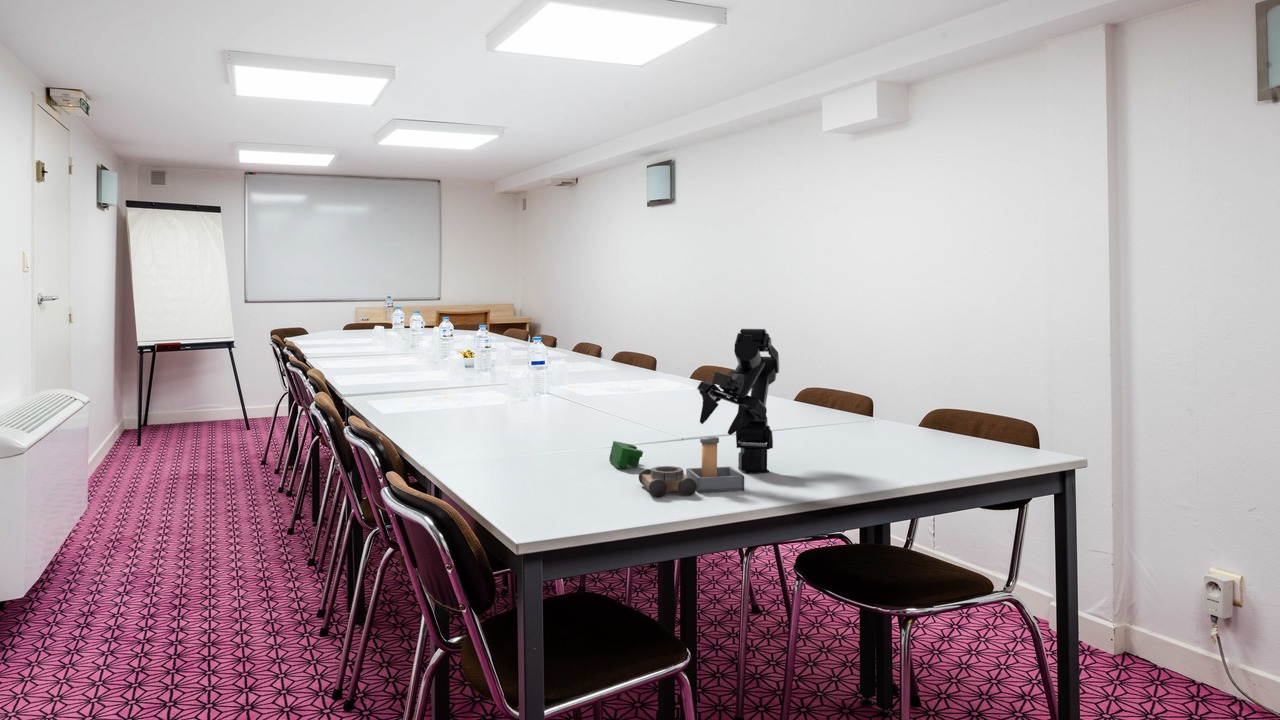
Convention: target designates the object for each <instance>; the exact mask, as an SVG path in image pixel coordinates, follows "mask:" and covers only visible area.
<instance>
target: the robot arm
mask: <svg viewBox="0 0 1280 720" xmlns="http://www.w3.org/2000/svg"><path fill="white" fill-rule="evenodd" d="M733 350H734V355H735V358H736V360H737V363H738V364H737V366H736V368H735V369H734V370H730V371H729V372H728V373H727V374H726V373H722V372H720V371H715V370H714V373H713V376H712V379H711V382H710V381H707V380H703V381H700V383H699V384H698V386H697V388H696V389H697V390H698V391H699V394H700V395H701V397H702V406H701V412H700V418H699V424H701V425H704V423H706V422H707V421H708V419H709V418H710V417H711V415H712V414H713V412H714V411H716V409H717V407H718V406H719V403H718V402H719V401H721V400H723V401H726V402H730V404H731V403H732V404H735V405H737V406H738V407H737V413H736V415H735V417H734V418H733V420H732V423H731V424H730V425H729V428H728V431H727V434H728V435H729V436H731V435H733V434H735V439H736V441H735V442H736V443H735V444H736V445H735V446H736V449H740V452H738V464H737V465H738V467H737V470H740V471H741V472H742V473H744V474H764V473H766V474H767V473H770V469H768V450H770V449H774V447H773V445H774V439H773V431H772V430H771V426H770V425H769V423H768V416H767V412H768V411H767V407H766V406H767V401H768V400H767V398H768V392H769V386H770V385H771V384H773V383H774V382H775V381H776V380H777V374H779V373H780V357H779V351H777V349H776V348H775V347H774V345H772V338H771V337H770V334H769V333H767V330H766V329H765V328H741V329H740V331H739V332H738V333H737V335H736V339H735V341H734V349H733ZM761 352H768V355H769V356H762V355H761ZM717 385H718V386H717ZM750 391H751V392H750ZM749 394H750V395H749Z"/></svg>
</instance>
